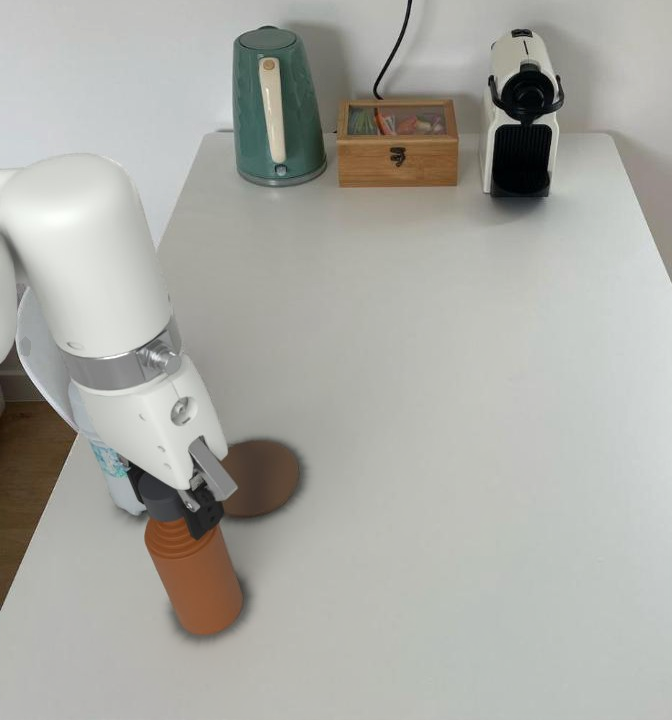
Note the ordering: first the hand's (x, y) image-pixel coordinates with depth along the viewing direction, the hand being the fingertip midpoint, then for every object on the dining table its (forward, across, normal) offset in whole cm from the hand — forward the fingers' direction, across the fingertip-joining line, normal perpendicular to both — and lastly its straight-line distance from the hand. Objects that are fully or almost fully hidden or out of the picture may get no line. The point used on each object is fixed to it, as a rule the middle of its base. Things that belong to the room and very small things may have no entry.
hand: (181, 507), depth 66 cm
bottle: (+14, +15, -5) cm, 21 cm away
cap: (-1, 0, +1) cm, 1 cm away
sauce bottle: (+14, 0, +1) cm, 14 cm away
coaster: (+14, +7, -12) cm, 20 cm away
